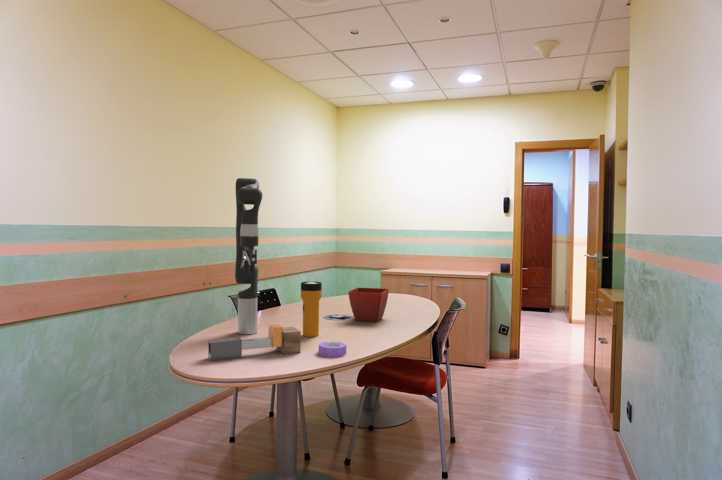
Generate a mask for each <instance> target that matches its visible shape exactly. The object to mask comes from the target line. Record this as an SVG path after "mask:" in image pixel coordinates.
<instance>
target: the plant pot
mask: <svg viewBox="0 0 722 480" xmlns="http://www.w3.org/2000/svg"><path fill="white" fill-rule="evenodd" d="M389 291H390V289H389V288H378V287H377V288H375V287H356V288H353V289H351V290H349V291H348V298H349V303H350V308H351V312H352V315H353V318H354V320H355V321H356V322H357V321H358V322H369V323H370V322H372V323H377V322H379V321H380V320H382V319H383V316H384V315H385V311H386V308H387V303H388V297H389Z"/></svg>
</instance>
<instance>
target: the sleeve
mask: <svg viewBox="0 0 722 480" xmlns="http://www.w3.org/2000/svg"><path fill="white" fill-rule="evenodd" d="M242 340H243V339H241V338H240V337H239V336H238V337H230V338H229V337H228V338H217V339H209V340H207V342H208V345H207V347H208V349H207V351H208V353H207V355H208V357H207V358H208V359H209V360H210V362H214V361H222V360H233V359H242V357H243V355H242V354H243V350H242Z"/></svg>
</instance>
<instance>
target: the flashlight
mask: <svg viewBox="0 0 722 480" xmlns="http://www.w3.org/2000/svg"><path fill="white" fill-rule="evenodd" d="M322 284H323V283H322V282H321V281H302V282H300V298H301V299H302V336H303V337H306V338H314V337H318V336H320V335H319V334H320V332H319V331H320V330H319V329H320V328H319V327H320V300H321V299H322V292H323V291H322V289H323V287H322Z"/></svg>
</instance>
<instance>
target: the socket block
mask: <svg viewBox="0 0 722 480" xmlns="http://www.w3.org/2000/svg"><path fill="white" fill-rule="evenodd" d="M282 327H283V326H282ZM301 335H302V333H301V330H299V329H298V328H296V327H294V326H285V327H283V338H282V346H280V347H276V350H278V352H280V351H281V352H280V353H282V354H283V355H291V353H292V354H300V353H301V341H302V340H301V337H302V336H301ZM299 352H300V353H299Z"/></svg>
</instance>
